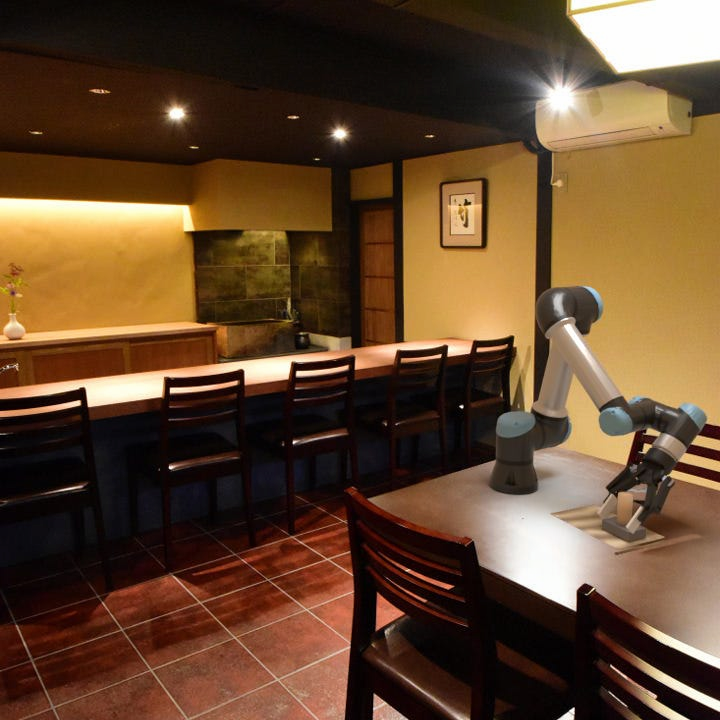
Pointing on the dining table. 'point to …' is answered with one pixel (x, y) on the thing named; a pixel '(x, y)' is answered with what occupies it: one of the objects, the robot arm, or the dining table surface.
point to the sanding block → (623, 520)
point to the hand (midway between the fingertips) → (614, 523)
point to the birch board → (592, 525)
